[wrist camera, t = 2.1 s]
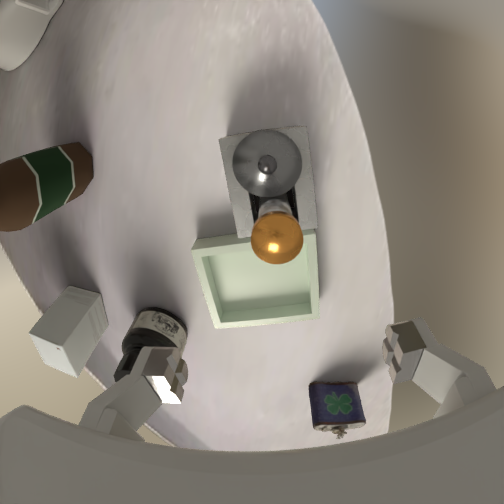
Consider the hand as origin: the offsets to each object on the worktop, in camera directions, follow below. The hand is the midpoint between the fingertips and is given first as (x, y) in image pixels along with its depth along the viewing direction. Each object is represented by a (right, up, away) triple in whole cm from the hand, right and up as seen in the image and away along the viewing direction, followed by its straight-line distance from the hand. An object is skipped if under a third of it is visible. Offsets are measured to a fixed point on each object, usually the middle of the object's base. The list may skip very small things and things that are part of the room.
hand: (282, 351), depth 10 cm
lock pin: (+1, +10, +21) cm, 23 cm away
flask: (+14, -22, +36) cm, 45 cm away
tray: (0, +1, +25) cm, 25 cm away
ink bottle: (-16, -8, +31) cm, 36 cm away
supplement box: (-29, -5, +30) cm, 43 cm away
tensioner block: (+1, +12, +20) cm, 23 cm away
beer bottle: (-25, +15, +20) cm, 35 cm away
